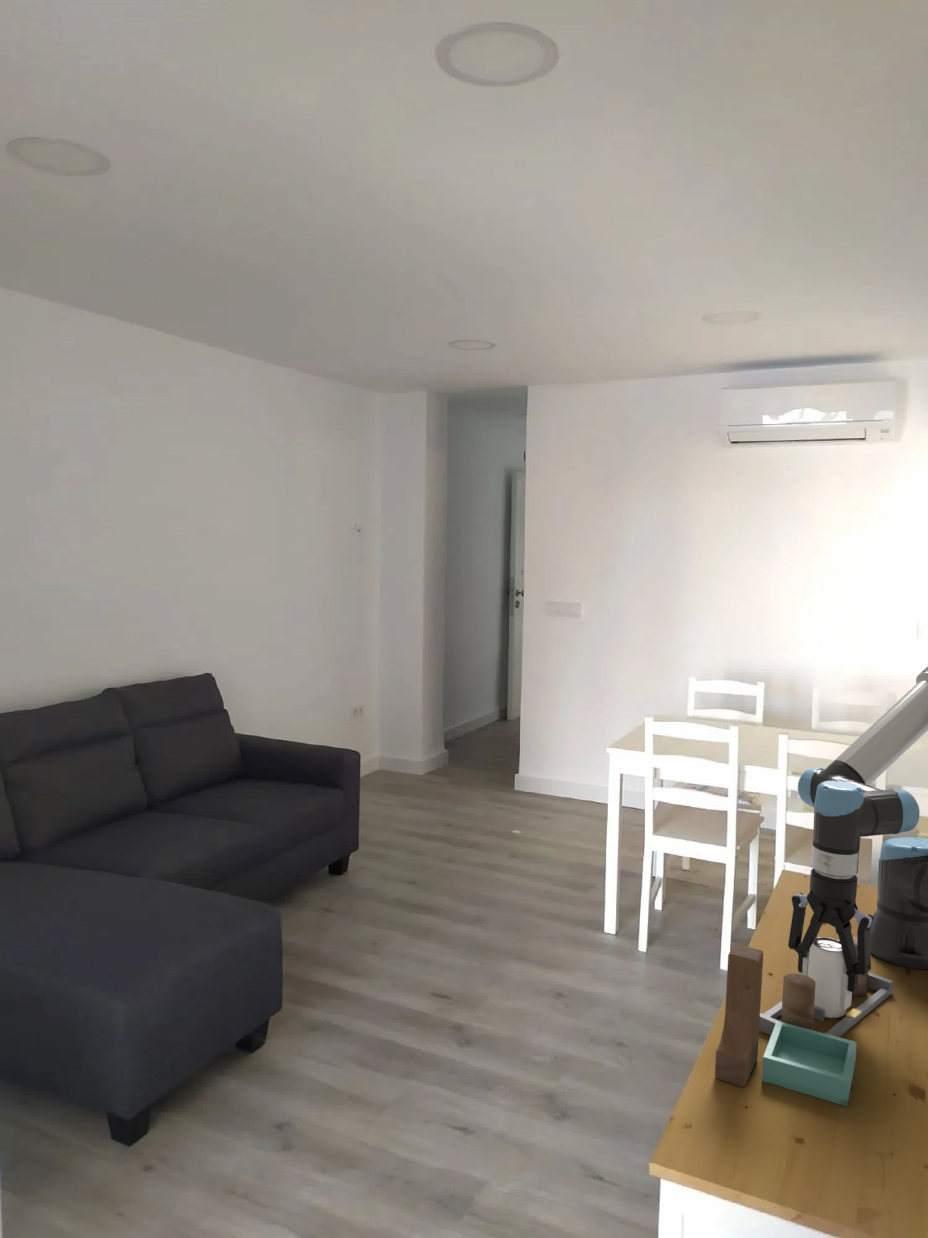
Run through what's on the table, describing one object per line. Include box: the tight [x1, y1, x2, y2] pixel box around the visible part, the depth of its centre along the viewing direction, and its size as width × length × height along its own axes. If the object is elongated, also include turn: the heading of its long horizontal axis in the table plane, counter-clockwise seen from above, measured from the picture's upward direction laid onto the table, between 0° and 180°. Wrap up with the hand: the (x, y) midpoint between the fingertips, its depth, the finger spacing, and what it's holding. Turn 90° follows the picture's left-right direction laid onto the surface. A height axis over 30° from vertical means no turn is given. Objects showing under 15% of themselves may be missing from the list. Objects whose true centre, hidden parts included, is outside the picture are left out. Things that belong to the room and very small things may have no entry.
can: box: [808, 936, 847, 1020], centre depth 156 cm, size 6×6×12 cm
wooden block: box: [714, 944, 764, 1088], centre depth 137 cm, size 9×4×18 cm, turn 149°
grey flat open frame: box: [759, 971, 894, 1038], centre depth 157 cm, size 30×11×2 cm, turn 133°
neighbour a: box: [852, 935, 869, 997], centre depth 164 cm, size 5×5×9 cm
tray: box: [761, 1020, 858, 1107], centre depth 138 cm, size 12×12×4 cm
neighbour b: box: [780, 973, 816, 1030], centre depth 149 cm, size 5×5×9 cm
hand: (825, 999), depth 157 cm, fingers closed on can, 6 cm apart
